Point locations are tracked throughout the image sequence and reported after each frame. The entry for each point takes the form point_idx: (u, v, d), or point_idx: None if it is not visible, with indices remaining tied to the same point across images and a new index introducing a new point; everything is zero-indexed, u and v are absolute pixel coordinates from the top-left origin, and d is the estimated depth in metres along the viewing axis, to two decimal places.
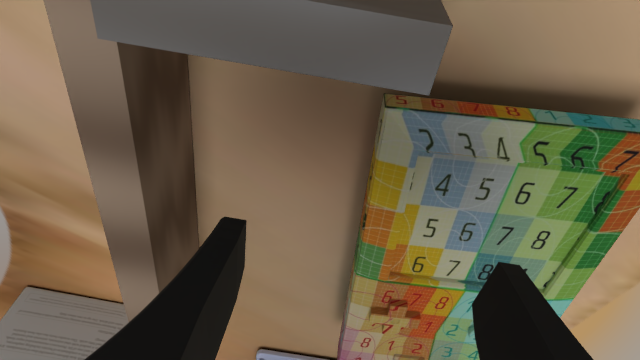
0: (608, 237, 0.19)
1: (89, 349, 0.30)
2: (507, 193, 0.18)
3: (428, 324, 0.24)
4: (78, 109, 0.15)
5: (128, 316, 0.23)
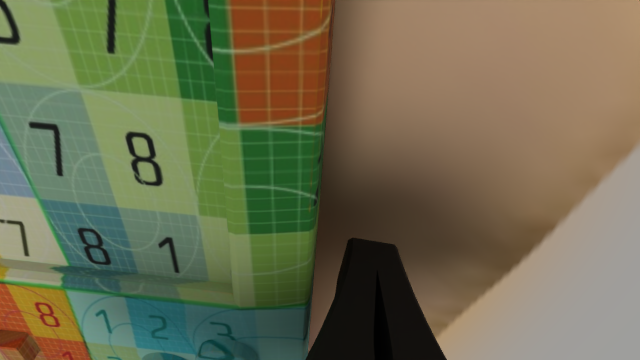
0: (284, 143, 0.07)
1: None
2: None
3: (67, 356, 0.12)
4: None
5: None
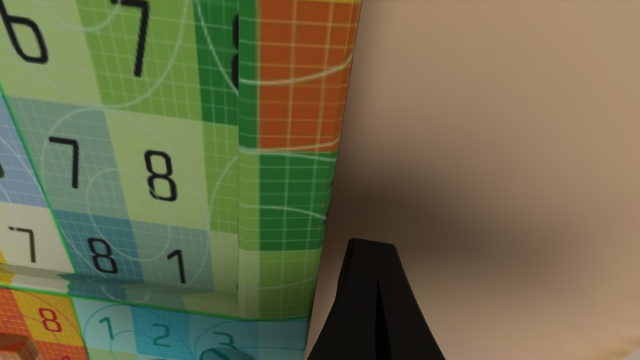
0: (300, 167, 0.07)
1: None
2: None
3: (65, 359, 0.12)
4: None
5: None
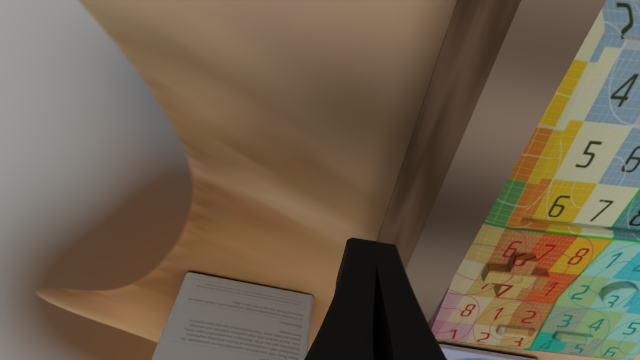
0: None
1: (277, 343, 0.26)
2: None
3: (552, 285, 0.20)
4: (529, 2, 0.11)
5: None
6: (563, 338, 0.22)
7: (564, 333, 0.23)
